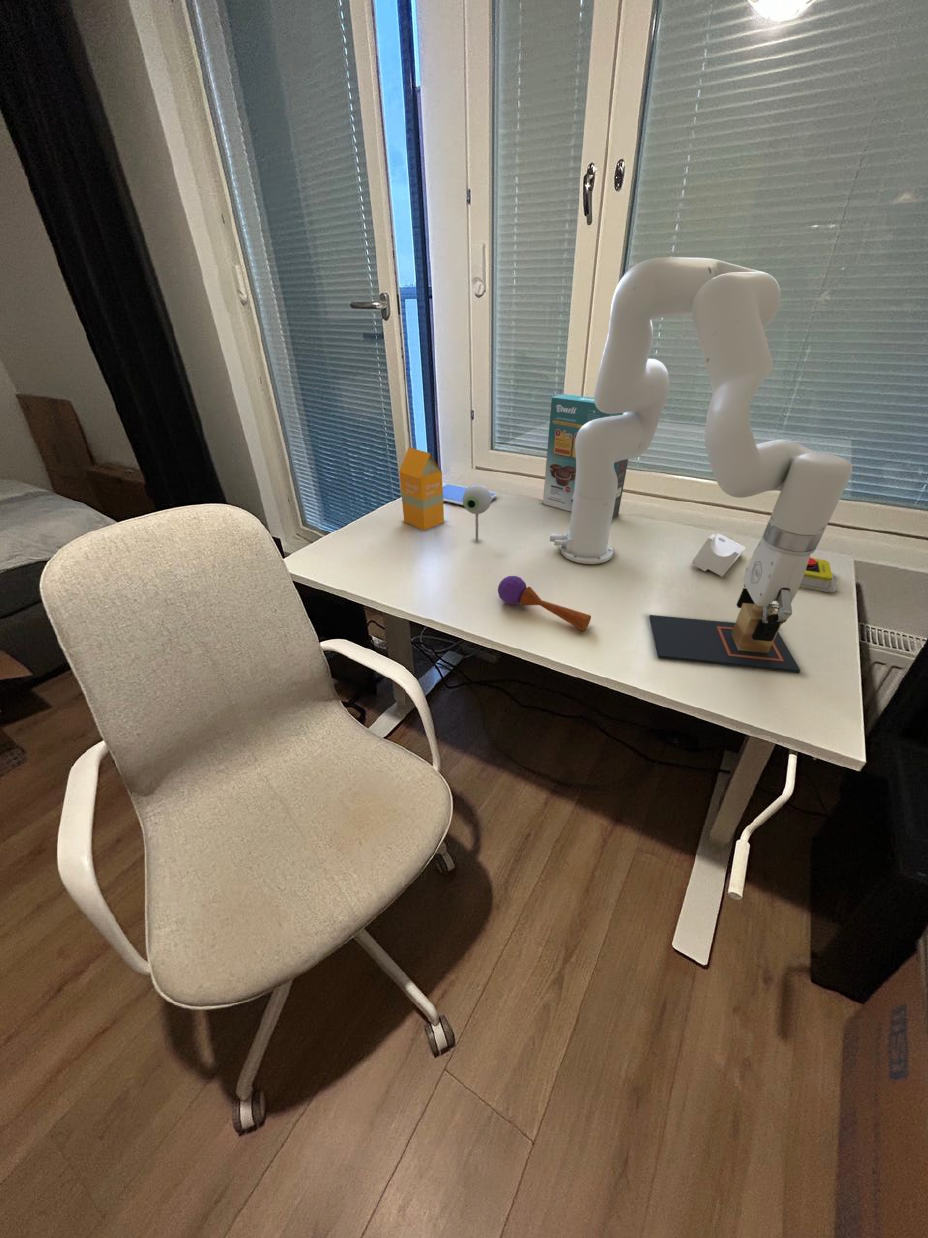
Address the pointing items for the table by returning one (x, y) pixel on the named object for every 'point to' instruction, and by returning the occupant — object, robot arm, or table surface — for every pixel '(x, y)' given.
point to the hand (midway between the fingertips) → (753, 622)
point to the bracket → (718, 554)
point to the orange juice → (421, 490)
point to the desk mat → (714, 645)
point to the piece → (750, 629)
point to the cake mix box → (571, 450)
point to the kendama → (538, 601)
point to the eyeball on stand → (476, 501)
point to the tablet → (456, 494)
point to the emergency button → (818, 576)
